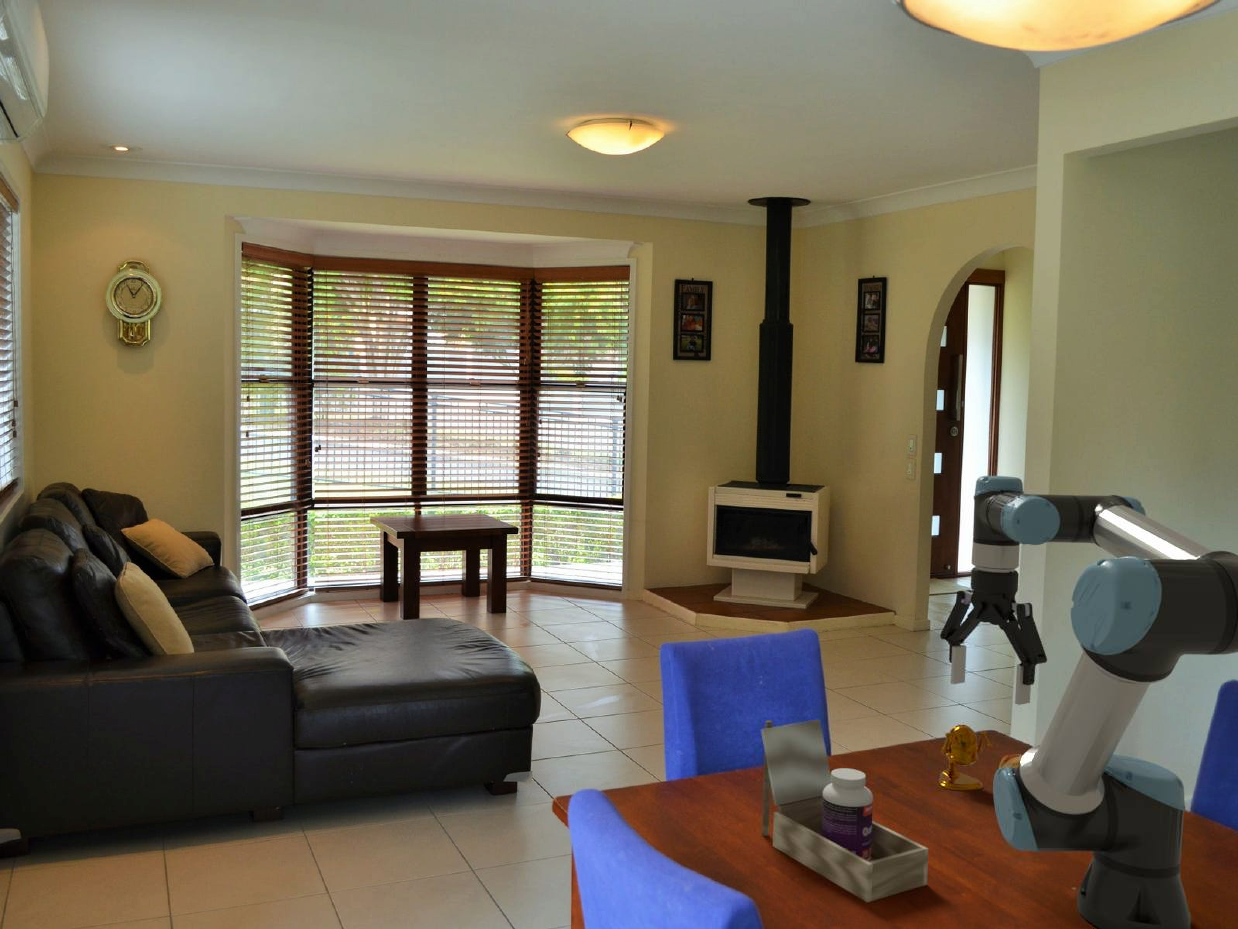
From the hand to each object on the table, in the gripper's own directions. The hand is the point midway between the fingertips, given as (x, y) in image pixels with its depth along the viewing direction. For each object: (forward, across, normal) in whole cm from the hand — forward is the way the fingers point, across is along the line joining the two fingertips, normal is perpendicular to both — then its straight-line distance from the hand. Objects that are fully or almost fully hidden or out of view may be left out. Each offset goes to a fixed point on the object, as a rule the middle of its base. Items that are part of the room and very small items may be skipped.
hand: (989, 693), depth 182 cm
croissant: (+27, +16, -32) cm, 44 cm away
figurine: (+27, +23, -20) cm, 41 cm away
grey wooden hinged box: (+27, +8, +26) cm, 38 cm away
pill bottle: (+26, +6, +26) cm, 37 cm away
